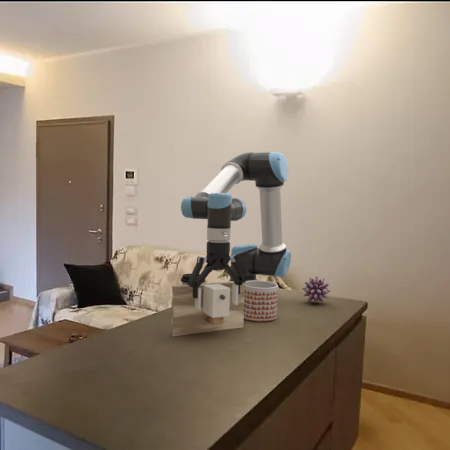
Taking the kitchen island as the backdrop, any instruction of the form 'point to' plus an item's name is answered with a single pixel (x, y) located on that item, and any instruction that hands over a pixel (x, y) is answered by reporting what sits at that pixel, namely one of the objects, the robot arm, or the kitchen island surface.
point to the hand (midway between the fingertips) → (216, 306)
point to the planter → (260, 301)
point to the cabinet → (216, 300)
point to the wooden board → (195, 318)
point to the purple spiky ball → (316, 289)
